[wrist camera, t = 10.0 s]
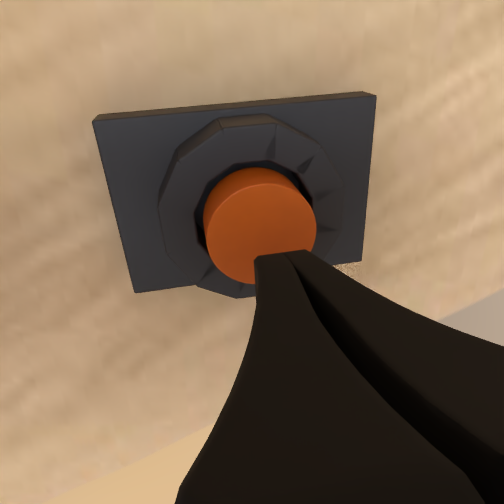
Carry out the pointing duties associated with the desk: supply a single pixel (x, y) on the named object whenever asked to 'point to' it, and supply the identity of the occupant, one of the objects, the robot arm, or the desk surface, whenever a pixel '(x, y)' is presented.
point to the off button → (255, 220)
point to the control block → (224, 163)
